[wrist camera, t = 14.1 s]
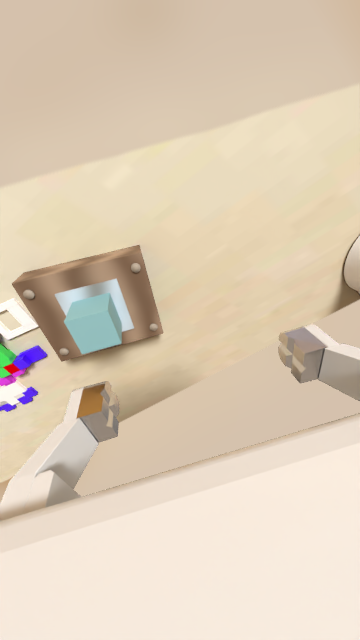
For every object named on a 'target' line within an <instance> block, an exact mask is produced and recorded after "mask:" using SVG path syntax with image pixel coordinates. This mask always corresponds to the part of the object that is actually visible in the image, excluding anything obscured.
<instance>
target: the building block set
mask: <svg viewBox="0 0 360 640" xmlns="http://www.w3.org/2000/svg"><path fill="white" fill-rule="evenodd" d="M6 309H7V310H8V311H9V312H10V313H11V314H12V315H13V316H14V317H15V318H16V319H17V321H18V322H19V323H20V324H21V325H22V326H21V327H19V328H17V329H15V330H12V331H10V330H9V329H8V328H7V327H6V326H5V325H4V324H3V323H2V322H1V321H0V333H1V334H2V335H3V336H4V337H5V338H6V339H7V340H9V339H11V338H13V337H16V336H18V335H20V334H22V333H25V332H27V331H29V330H31V329H34V328H36V327H38V324H37V323H36V321H35V319H34V318H33V316H32V315H31V314H30V313H29V312H28V311H27V310H26V309H25V308H24V307H23V306H22V305H21V303H20V302H19V301H18V300H17V299H16V298H13V299H10V300H8V301H6V302H4V303H2V304H0V312H2V311H4V310H6ZM46 356H47V354H46V353H45V352H44V351H43V350H42V349H41V348H40V347H39V346H35V347H33V348H31V349H29V350H26V351H24V352H22V353H20V354H19V356H17V357H16V355H15V354H14V353H13V352H11V351H10V350H7V349H6V348H5V347H4V346H2V345H1V344H0V385H1V387H0V411H1V410H3V409H4V410H5V411H7V412H8V411H10V410H12V409H15V408H16V405H15V404H17V403H19V402H21V403H22V404H26V403H28V402H30V401H32V399H33V398H32V397H33V396H35V395H37V393H38V392H37V391H36V390H35V389H34V388H32V387H30V388H26V387H25V386H24V385H22V384H21V383H20V382H19V381H18V380H16V379H15V378H14V377H17V376H19V375H21V374H24V372H25V371H26V369H27V367H29V366H30V365H31V363H33V362H35V361H38V360H40V359H42V358H44V357H46ZM10 374H11V375H10ZM12 375H13V376H14V377H13V376H12Z"/></svg>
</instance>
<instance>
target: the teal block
mask: <svg viewBox="0 0 360 640" xmlns="http://www.w3.org/2000/svg"><path fill="white" fill-rule="evenodd" d="M64 323H65V325H66V327H67V328H68V330H69V332H70V334H71V335H72V337H73V339H74V341H75V343H76V344H77V346H78V348H79V350H80V351H81V353H82V354H86V353H89V352H93V351H97V350H100V349H104V348H107V347H111V346H115V345H118V344H122V322H121V320H120V317H119V315H118V312H117V310H116V307H115V305H114V302H113V299H112V297H111V294H110V293H106V294H102V295H98V296H94V297H90V298H86V299H83V300H79V301H75V302H72V304H71V306H70V308H69V311H68V313H67V316H66V318H65V320H64Z"/></svg>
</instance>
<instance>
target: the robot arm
mask: <svg viewBox="0 0 360 640" xmlns="http://www.w3.org/2000/svg"><path fill="white" fill-rule="evenodd" d="M344 277H345V281H346V283H347V284H348V286H349V287H351V288H352V289H354V290H356V291H358V292H359V294H360V236H359V237H358V238H357V240H356V241H355V243H354V244H353V246H352V248H351V250H350V252H349V254H348V256H347V259H346V262H345V267H344ZM279 340H280V341H281V344H280V346H279V347H278V352H279V356H280V359H281V360H282V362H283V363H284V365H285V366H287V367H289V368H291V373H292V374H293V376H294V377H295V378H296V379H297V380H298V381H299V383H304V382H308V381H312V380H315V379H318V380H320V381H322V382H324V383H326V384H328V385H329V386H332V387H333V388H335V389H338V390H339V391H341V392H343V393H345V394H347V395H349V396H351V397H352V398H354V399H356V400H358V401H360V348H358V347H354V346H351V345H347V344H344V343H343V344H339V343H338V342H336V341H335V340H334V339H332V338H331V337H330V336H329V335H327V334H326V333H325V332H323V331H322V330H321V329H320V328H318V327H317V326H316V325H314V324H309V325H306V326H302V327H299V328H296V329H292V330H289V331H285V332H282V333H280V335H279ZM118 414H119V402H118V399H117V396H116V394H115V393H114V392H112V391H111V385H110V383H109V382H108V381H106V382H102V383H98V384H94V385H90V386H86V387H83V388H79V389H75V390H73V391H72V393H71V396H70V399H69V403H68V406H67V410H66V413H65V417H64V420H63V423H60V424H59V425H58V426H57V427H56V428H55V429H54V430H53V432H52V433H51V434H50V435H49V436H48V437H47V439H46V440H45V441H44V442H43V443H42V444H41V445H40V447H39V448H38V449H37V450H36V451H35V452H34V453H33V455H32V456H31V457H30V458H29V459H28V460H27V462H26V463H25V464H24V465H23V466H22V467H21V468H20V470H19V471H18V472H17V473H16V474H15V475H14V476H13V478H12V479H11V480H10V481H9V484H8V486H7V489H6V492H5V494H4V496H3V499H2V501H1V504H0V640H360V413H358V414H355V415H352V416H349V417H345V418H342V419H338V420H336V421H332V422H328V423H325V424H322V425H318V426H315V427H312V428H309V429H305V430H302V431H298V432H295V433H292V434H289V435H285V436H282V437H279V438H276V439H272V440H269V441H266V442H262V443H259V444H255V445H252V446H249V447H246V448H242V449H239V450H235V451H232V452H229V453H225V454H222V455H219V456H216V457H212V458H209V459H206V460H202V461H199V462H196V463H192V464H189V465H186V466H183V467H180V468H176V469H172V470H169V471H166V472H162V473H159V474H156V475H153V476H149V477H146V478H143V479H139V480H136V481H133V482H130V483H126V484H123V485H119V486H116V487H113V488H109V489H106V490H103V491H99V492H96V493H93V494H89V495H86V496H83V497H81V496H80V495H79V494H78V493H77V492H76V491H74V490H73V489H74V487H75V485H76V484H77V482H78V480H79V478H80V476H81V475H82V473H83V471H84V469H85V467H86V466H87V464H88V462H89V460H90V458H91V457H92V455H93V453H94V451H95V449H96V447H97V446H98V443H99V442H102V441H105V440H108V439H111V438H114V437H117V436H118V423H119V422H118V421H117V419H116V417H117V416H118Z"/></svg>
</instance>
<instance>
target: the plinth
mask: <svg viewBox="0 0 360 640" xmlns="http://www.w3.org/2000/svg"><path fill="white" fill-rule="evenodd" d="M12 285H13V287H14V288H15V290H16V292H17V293H18V295H19V296H20V298H21V299H22V301H23V302H24V304H25V305H26V307H27V309H28V310H29V312H30V313H31V315H32V316H33V318H34V319H35V321H36V323H37V324H38V326H39V327H40V329H41V330H42V332H43V333H44V335H45V336H46V338H47V340H48V341H49V343H50V344H51V346H52V347H53V349H54V350H55V352H56V354H57V355H58V357H59V358H60V360H61V361H65V360H69V359H72V358H76V357H80V356H83V355H87V354H91V353H94V352H98V351H101V350H105V349H109V348H112V347H116V346H119V345H123V344H127V343H130V342H134V341H137V340H141V339H145V338H148V337H152V336H156V335H159V334H163V330H162V326H161V322H160V319H159V315H158V311H157V308H156V304H155V300H154V297H153V293H152V289H151V286H150V282H149V279H148V275H147V271H146V268H145V264H144V260H143V257H142V253H141V249H140V246H139V245H137V246H133V247H129V248H125V249H121V250H116V251H112V252H108V253H104V254H100V255H96V256H92V257H87V258H83V259H79V260H75V261H71V262H67V263H63V264H58V265H54V266H50V267H46V268H42V269H38V270H33V271H29V272H25V273H23V274H22V275H21V276H20V277H19V278H18V279H17V280H15V281H14V282H13V283H12ZM106 293H110V294H111V297H112V299H113V302H114V305H115V307H116V310H117V312H118V315H119V317H120V320H121V322H122V344H118V345H115V346H111V347H107V348H104V349H100V350H97V351H93V352H89V353H86V354H82V353H81V351H80V350H79V348H78V346H77V344H76V343H75V341H74V339H73V337H72V335H71V334H70V332H69V330H68V328H67V327H66V325H65V323H64V320H65V318H66V316H67V313H68V311H69V308H70V306H71V304H72V302H75V301H79V300H83V299H86V298H90V297H94V296H98V295H102V294H106Z"/></svg>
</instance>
